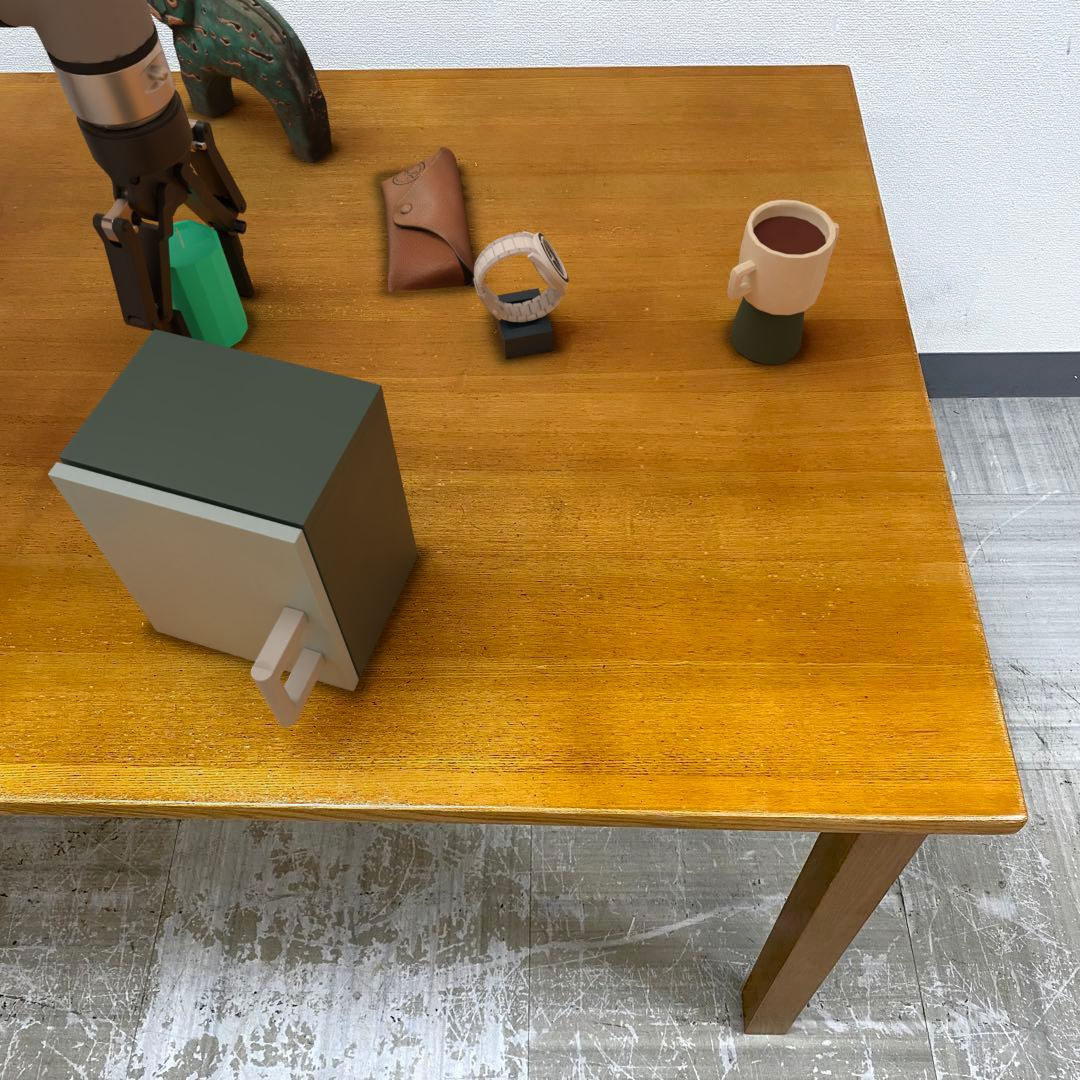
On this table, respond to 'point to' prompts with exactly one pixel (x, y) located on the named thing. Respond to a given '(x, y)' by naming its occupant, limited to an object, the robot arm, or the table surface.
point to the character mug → (779, 277)
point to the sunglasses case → (427, 226)
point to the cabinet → (267, 461)
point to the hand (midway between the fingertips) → (214, 327)
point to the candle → (204, 285)
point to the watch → (523, 294)
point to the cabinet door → (218, 582)
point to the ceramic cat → (248, 64)
